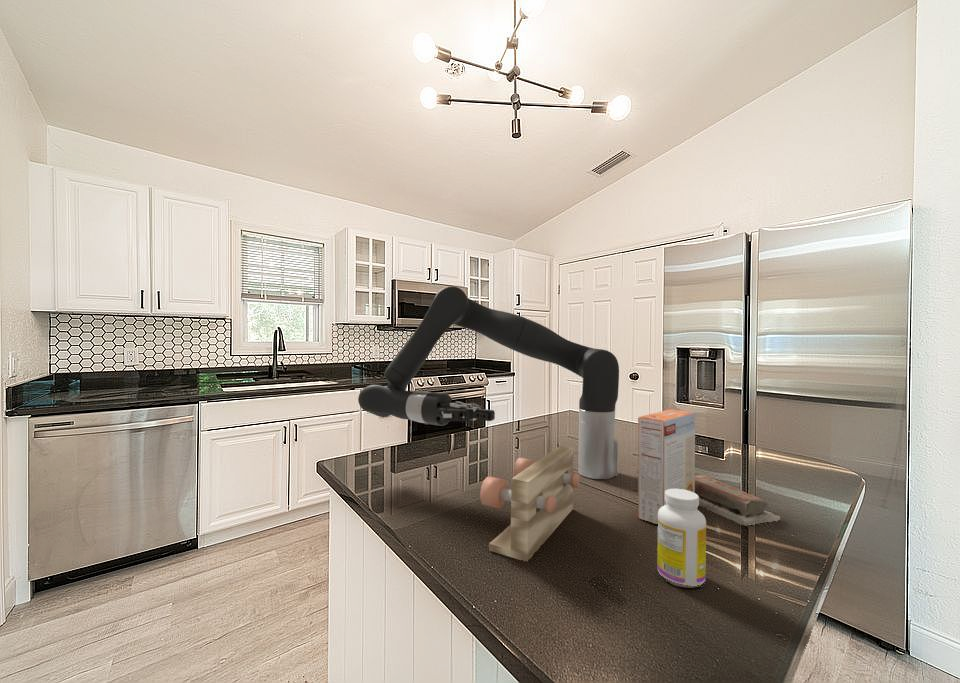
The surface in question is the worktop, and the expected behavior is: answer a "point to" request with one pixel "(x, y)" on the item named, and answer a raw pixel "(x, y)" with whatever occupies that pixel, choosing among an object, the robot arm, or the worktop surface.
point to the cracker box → (664, 458)
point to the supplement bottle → (681, 539)
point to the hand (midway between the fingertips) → (493, 415)
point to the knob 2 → (525, 463)
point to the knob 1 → (509, 495)
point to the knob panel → (528, 520)
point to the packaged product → (731, 502)
